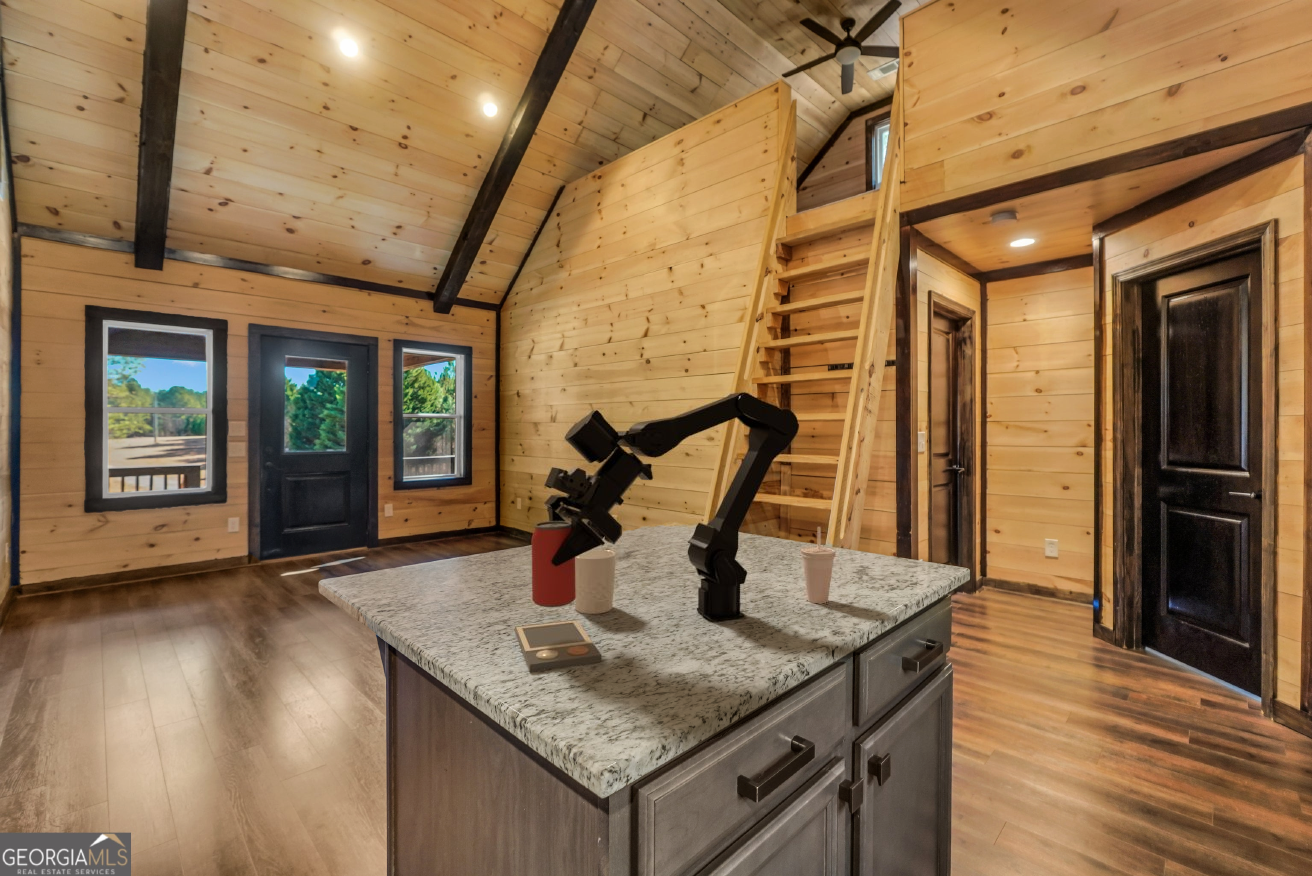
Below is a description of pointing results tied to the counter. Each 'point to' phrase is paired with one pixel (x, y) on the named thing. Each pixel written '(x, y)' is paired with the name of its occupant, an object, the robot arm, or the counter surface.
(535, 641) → the slate card
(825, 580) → the smoothie
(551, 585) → the beer can
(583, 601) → the white cup
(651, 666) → the counter surface
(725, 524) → the robot arm
